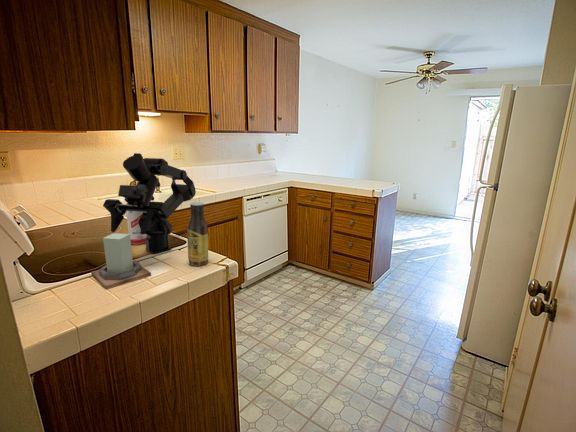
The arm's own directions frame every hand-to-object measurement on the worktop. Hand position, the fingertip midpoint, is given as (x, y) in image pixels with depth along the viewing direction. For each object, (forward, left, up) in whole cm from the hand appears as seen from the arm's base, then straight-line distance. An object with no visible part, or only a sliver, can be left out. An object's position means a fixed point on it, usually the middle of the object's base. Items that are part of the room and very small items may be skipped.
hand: (126, 232), depth 92 cm
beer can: (-11, -22, -12) cm, 27 cm away
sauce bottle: (-17, +10, -12) cm, 23 cm away
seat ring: (+4, +3, -12) cm, 12 cm away
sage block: (+4, +3, -11) cm, 11 cm away
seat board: (+4, +3, -12) cm, 12 cm away
